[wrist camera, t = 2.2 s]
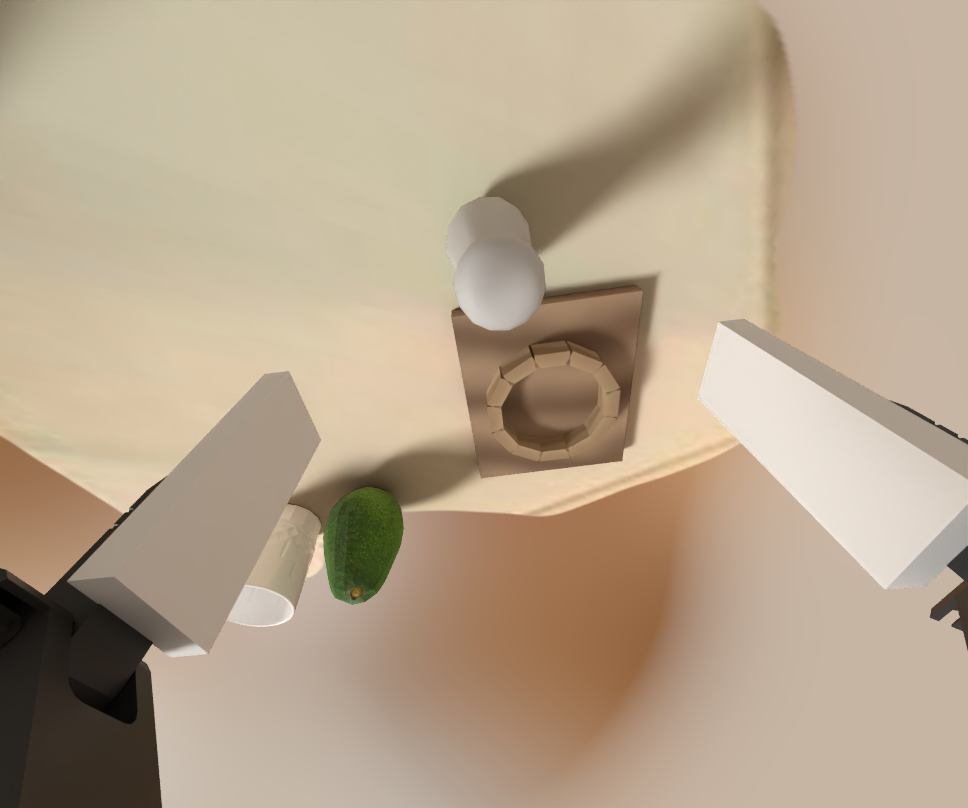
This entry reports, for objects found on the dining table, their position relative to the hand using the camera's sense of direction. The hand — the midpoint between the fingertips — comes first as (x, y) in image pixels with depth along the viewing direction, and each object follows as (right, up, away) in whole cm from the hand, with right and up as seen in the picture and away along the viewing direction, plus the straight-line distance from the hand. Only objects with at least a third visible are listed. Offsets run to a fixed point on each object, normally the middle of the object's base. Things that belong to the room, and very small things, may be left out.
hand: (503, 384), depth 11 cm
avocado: (-13, -11, +30) cm, 34 cm away
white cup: (-24, -15, +32) cm, 42 cm away
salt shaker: (0, +12, +15) cm, 19 cm away
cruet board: (+5, +1, +23) cm, 23 cm away
